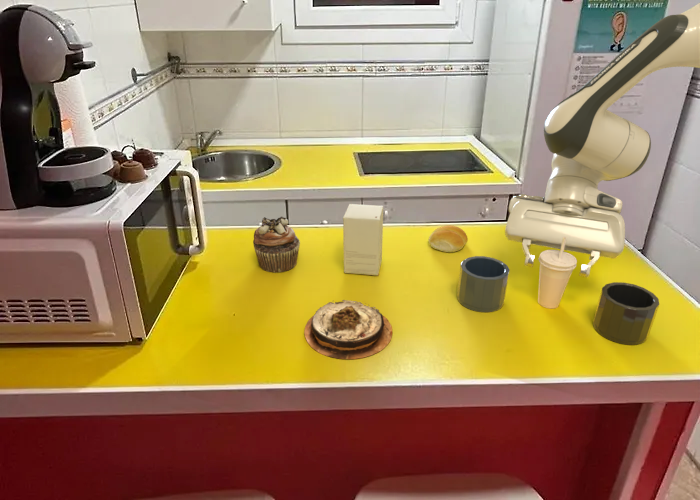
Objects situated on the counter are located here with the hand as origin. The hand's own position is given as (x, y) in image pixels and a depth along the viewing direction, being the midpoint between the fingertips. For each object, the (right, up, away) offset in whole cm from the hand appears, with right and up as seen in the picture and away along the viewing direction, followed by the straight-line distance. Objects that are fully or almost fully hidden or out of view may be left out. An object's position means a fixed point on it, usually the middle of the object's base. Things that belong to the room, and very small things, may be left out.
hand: (555, 270), depth 93 cm
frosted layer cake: (-37, -10, -4) cm, 39 cm away
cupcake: (-52, +1, +17) cm, 55 cm away
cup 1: (-12, -6, +5) cm, 14 cm away
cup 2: (+10, -10, -3) cm, 14 cm away
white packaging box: (-34, 0, +16) cm, 38 cm away
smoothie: (0, -6, +4) cm, 8 cm away
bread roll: (-15, +5, +25) cm, 29 cm away
